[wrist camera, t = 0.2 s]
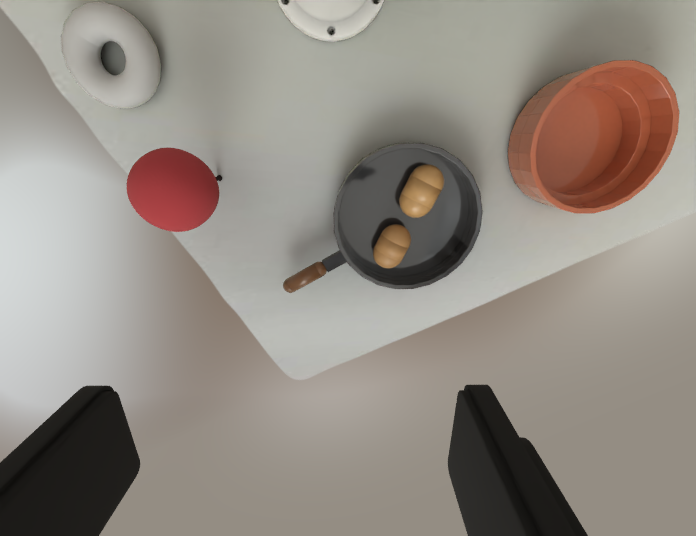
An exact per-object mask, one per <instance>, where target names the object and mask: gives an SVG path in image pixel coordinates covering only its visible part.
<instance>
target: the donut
mask: <svg viewBox="0 0 696 536" xmlns="http://www.w3.org/2000/svg"><path fill="white" fill-rule="evenodd" d="M108 41H114V42H116V43H118V44H119V45H120V46H121V47H122V49H123V51H124V54H125V57H126V65H125V68H124V71H123V72H122V73H121V74H119V75H111V74H110V73H108V72H107V71H106V69H105V68H104V66H103V64H102V61H101V50H102V47H103V45H104V44H105V43H106V42H108ZM61 43H62V53H63V56H64V59H65V62H66V65H67V68H68V70H69V71H70V73H71V74H72V76H73V78H74V79H75V81H76V82H77V83H78V84H79V85H80V86H81V87H82V88H83V89H84V90H85V91H86V92H87V93H88V94H89V95H90V96H91V97H93V98H94V99H96V100H98V101H99V102H101V103H103V104H105V105H108V106H112V107H116V108H120V109H123V108H135V107H138V106H140V105H142V104H144V103H146V102H148V100H149V99H150V98H151V97H152V96H153V95H154V94H155V92H156V90H157V87H158V84H159V82H160V79H161V62H160V58H159V54H158V50H157V47H156V45H155V43H154V41H153V39H152V37H151V35H150V33H149V32H148V31H147V30H146V28H145V27H144V26H143V25H142V24H141V23H140V22H139V20H138V19H137V18H136V17H134V16H133V15H131V14H130V13H128V12H127V11H125V10H124V9H122V8H121V7H118V6H115V5H111V4H108V3H104V2H91V3H85V4H83V5H82V6H80V7H78V8H76V9H74V10H73V11H72V12H71V14H70V15H69V16H68V18H67V19H66V20H65V23H64V26H63V30H62V34H61Z"/></svg>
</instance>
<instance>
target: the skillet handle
mask: <svg viewBox="0 0 696 536" xmlns="http://www.w3.org/2000/svg"><path fill="white" fill-rule="evenodd" d="M345 262H347V261H346V259H345V258H344V256H343V255H342V253H341V251H340V250H339V251H338V252H336V253H334V254H332V255H330V256H329V257H327V258H325V259H323V260H322V262H316V263H314V264H312V265H311V266H309V267H307V268H305V269H304V270H302V271H300V272H298V273H296V274H295V275H293V276H291V277H289V278H288V279H286V280H285V281H284V283H283V287H284V290H285V291H287V292H289V293H292V292H295V291H296V290H298V289H300V288H302V287H304V286H306V285H307V284H309V283H311V282H313V281H315V280H316V279H318V278H320V277H322V276H324V275H325V274H326V272H327V271H328V272H329V271H331V270H333V269H335V268H336V267H338V266H340V265H342V264H344V263H345Z"/></svg>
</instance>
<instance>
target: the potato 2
mask: <svg viewBox="0 0 696 536" xmlns="http://www.w3.org/2000/svg"><path fill="white" fill-rule="evenodd" d="M443 185H444V177H443V174H442V172H441V171H440V170H439V169H438V168H437V167H436V166H433V165H429V164H425V165H421V166H419V167H417V168H416V169H415V170H414V171H413V172H412V173H411V175H410V177H409V179H408V181H407V183H406V185H405V187H404V189H403V191H402V193H401V195H400V199H399V203H400V207H401V209H402V211H403V212H404V213H405V214H406V215H408V216H410V217H413V218H419V217H422V216H425V215H426V214H427V213H428V212H429V211H430V210H431V209H432V207H433V205H434V203H435V201H436V200H437V198H438V196H439V194H440V192H441V191H442V188H443Z"/></svg>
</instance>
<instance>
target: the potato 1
mask: <svg viewBox="0 0 696 536" xmlns="http://www.w3.org/2000/svg"><path fill="white" fill-rule="evenodd" d="M410 243H411V236H410V233H409V231H408V230H407V229H406V228H405V227H404V226H402V225H398V224H394V225H390V226H388V227H386V228H385V229H384V230H383V231H382V233H381V235H380V237H379V239H378V241H377V243H376V245H375V247H374V250H373V257H374V260H375V261H376V263H377V264H378V265H379V266H381V267H383V268H393V267H396V266H397V265H398V264H399V263H400V262H401V261H402V259H403V257H404V255H405V254H406V252H407V250H408V248H409V246H410Z"/></svg>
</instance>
